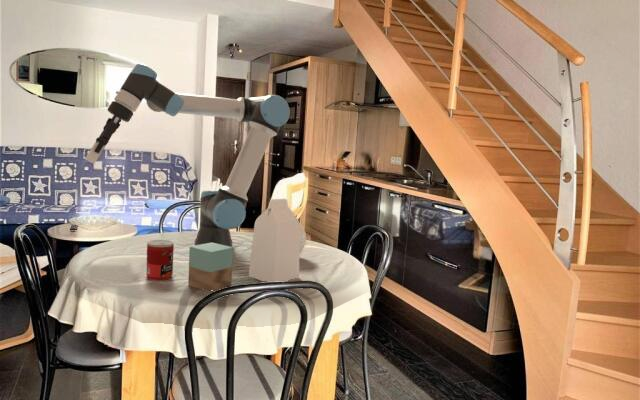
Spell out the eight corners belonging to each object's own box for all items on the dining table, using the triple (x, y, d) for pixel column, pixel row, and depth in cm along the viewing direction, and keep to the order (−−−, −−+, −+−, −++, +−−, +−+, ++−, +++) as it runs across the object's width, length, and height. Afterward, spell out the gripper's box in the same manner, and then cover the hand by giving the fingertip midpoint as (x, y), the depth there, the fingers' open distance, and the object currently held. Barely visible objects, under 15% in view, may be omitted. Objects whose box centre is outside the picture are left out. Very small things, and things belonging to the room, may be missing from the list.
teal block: (211, 261, 151) (211, 242, 151) (232, 266, 147) (233, 247, 146) (188, 266, 144) (189, 246, 143) (210, 272, 139) (211, 252, 138)
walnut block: (210, 279, 152) (211, 261, 151) (231, 285, 147) (232, 266, 147) (188, 285, 145) (188, 266, 144) (209, 292, 140) (210, 272, 139)
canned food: (164, 281, 146) (166, 246, 145) (141, 278, 148) (142, 243, 147) (177, 275, 154) (178, 241, 153) (154, 272, 155) (155, 238, 154)
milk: (274, 270, 168) (278, 196, 164) (299, 278, 160) (304, 200, 157) (248, 276, 158) (252, 197, 155) (273, 284, 151) (278, 202, 148)
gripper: (110, 103, 170) (77, 155, 166) (116, 95, 148) (78, 155, 144) (130, 115, 173) (98, 166, 169) (139, 109, 151) (102, 168, 147)
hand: (89, 161), depth 157 cm, fingers open, 13 cm apart
